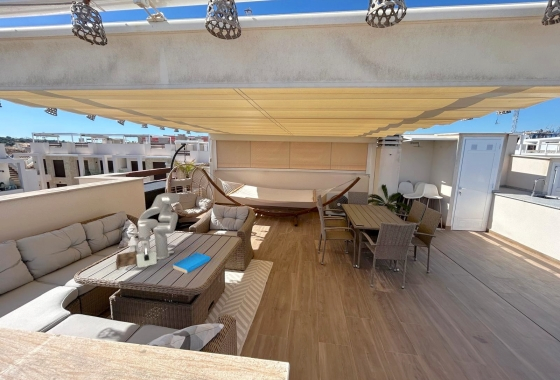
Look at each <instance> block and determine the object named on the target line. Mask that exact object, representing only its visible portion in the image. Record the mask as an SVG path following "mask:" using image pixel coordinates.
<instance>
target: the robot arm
mask: <svg viewBox="0 0 560 380" xmlns="http://www.w3.org/2000/svg"><path fill="white" fill-rule="evenodd" d="M180 199H181V197H180V194H179V193H175V192H173V193H172V192H164V193H160V194H157V195H156V197H155V198H154V200H153V203H152V205H151V206H150V207H149V208H148V209H146V210H145V211H144V212H142V213H141V215H140V216H139V218H138V221H137V230H138V239H139V242H141V243H140V244H141V249H142V250H141V251H142V253H144V261H148V260H149V255H148V254H147V253H148V252H151V243H150V240H151V230H152V232H153V234H154V242H155V243H154V245H155V251H156V261H157V260H166V259H168V258H170V256H171V254H174V253H175V252H174V250H169V247H168V246H169V245H168V236H167V234H170V235H171V234H174V232H175V229H176V226H177V222H178V219H179V215H178V213H177V212H175V211H172V209H173V208H172V206H171V205H172V204H176V203H178V202H179V201H180ZM158 214H159V215H158ZM154 215H158V220H157V219H154V218H150V217H152V216H154ZM158 221H159V222H158Z"/></svg>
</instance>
